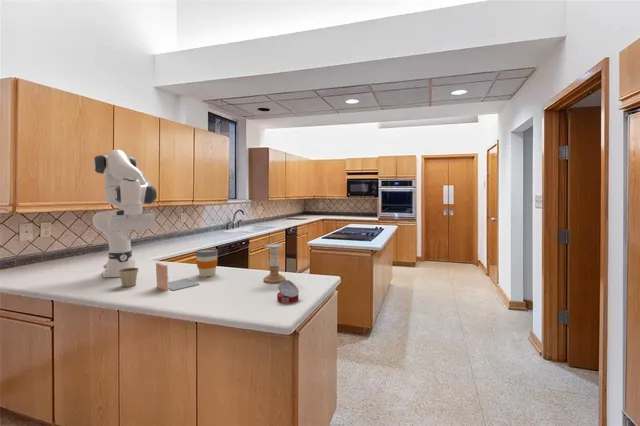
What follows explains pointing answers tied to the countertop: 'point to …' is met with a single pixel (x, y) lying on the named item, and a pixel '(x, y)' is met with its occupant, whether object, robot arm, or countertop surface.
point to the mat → (181, 284)
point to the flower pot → (128, 276)
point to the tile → (162, 276)
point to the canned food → (287, 292)
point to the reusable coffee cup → (207, 261)
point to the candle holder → (274, 265)
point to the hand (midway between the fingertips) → (133, 239)
